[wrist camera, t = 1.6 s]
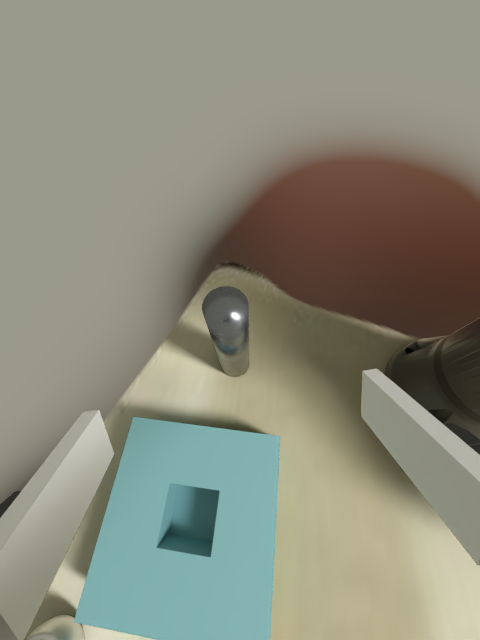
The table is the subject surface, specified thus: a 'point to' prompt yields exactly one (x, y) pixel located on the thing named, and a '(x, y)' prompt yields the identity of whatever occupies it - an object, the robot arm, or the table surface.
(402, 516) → the table surface
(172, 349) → the table surface
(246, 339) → the pin
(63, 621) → the plastic bottle
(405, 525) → the table surface
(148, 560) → the socket block
